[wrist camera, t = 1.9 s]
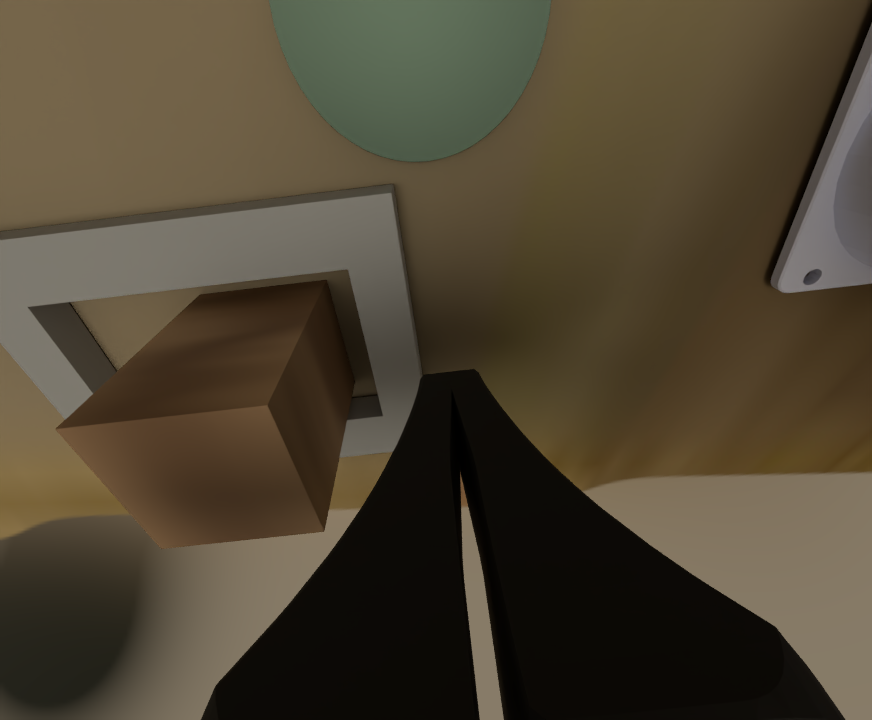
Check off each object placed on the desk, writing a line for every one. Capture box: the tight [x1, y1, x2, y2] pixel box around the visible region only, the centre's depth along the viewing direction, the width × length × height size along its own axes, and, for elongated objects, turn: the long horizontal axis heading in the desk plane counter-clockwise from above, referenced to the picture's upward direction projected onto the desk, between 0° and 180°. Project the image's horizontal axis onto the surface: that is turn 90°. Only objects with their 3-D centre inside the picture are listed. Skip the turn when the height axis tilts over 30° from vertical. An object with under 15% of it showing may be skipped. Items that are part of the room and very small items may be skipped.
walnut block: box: [56, 280, 355, 549], centre depth 11 cm, size 4×4×6 cm
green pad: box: [269, 0, 551, 162], centre depth 9 cm, size 6×6×1 cm
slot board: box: [0, 184, 423, 458], centre depth 13 cm, size 12×9×1 cm
